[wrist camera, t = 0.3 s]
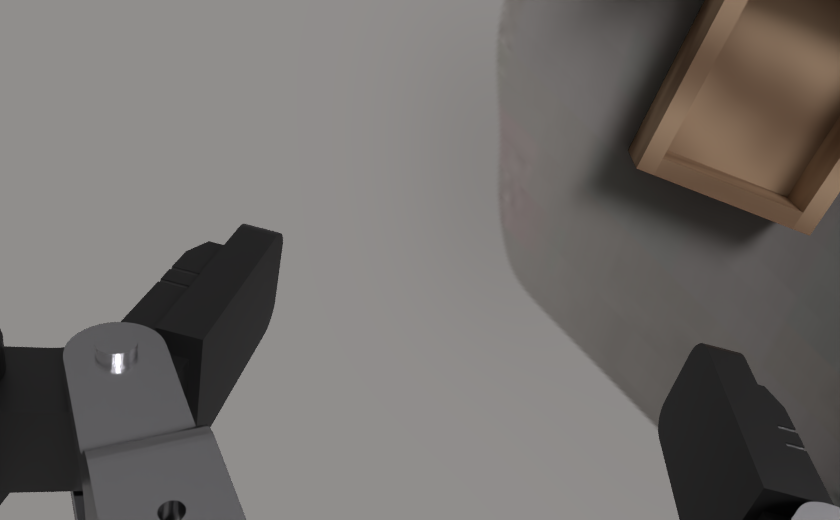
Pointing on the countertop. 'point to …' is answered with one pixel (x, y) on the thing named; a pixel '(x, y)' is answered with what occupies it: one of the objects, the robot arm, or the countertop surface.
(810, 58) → the tray
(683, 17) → the countertop surface
